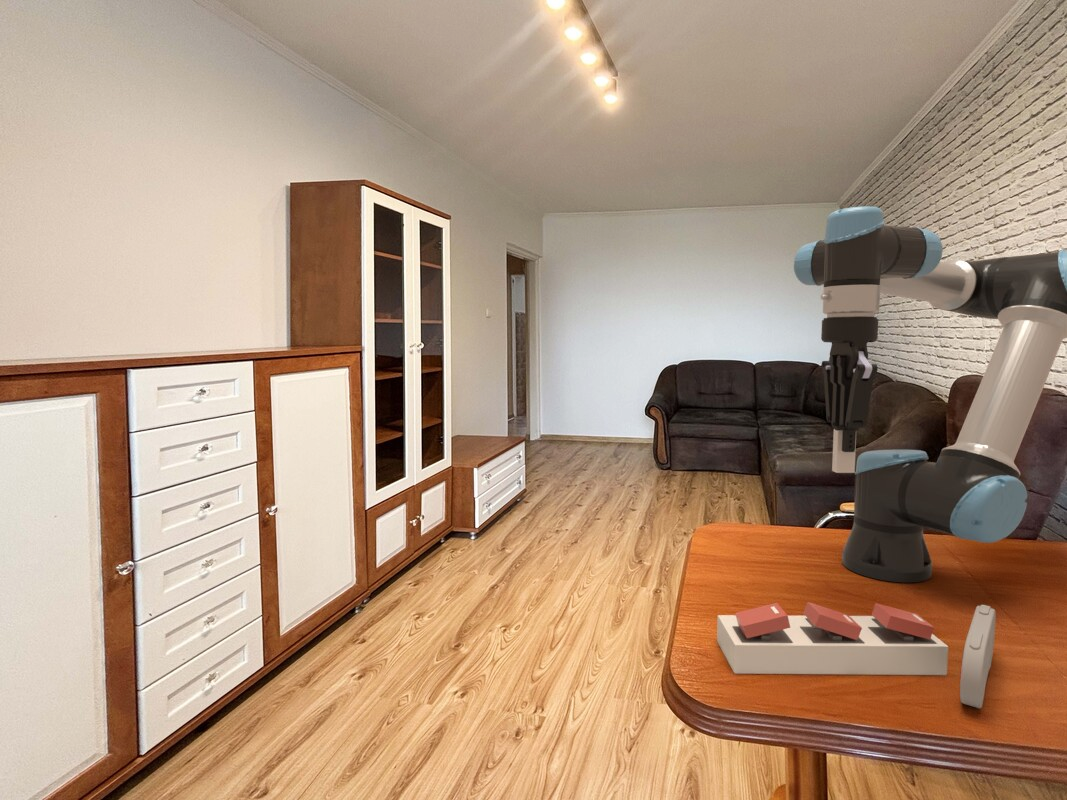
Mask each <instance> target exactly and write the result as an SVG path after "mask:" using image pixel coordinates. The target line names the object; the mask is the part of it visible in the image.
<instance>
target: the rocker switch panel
mask: <svg viewBox="0 0 1067 800" xmlns="http://www.w3.org/2000/svg"><path fill="white" fill-rule="evenodd" d="M849 616H850V617H851V618H852V619H853V620H854V621H855V622H856V623H857V624H858V625H859V626H860V627H861V628H862V630H861V632H860V635H859V637H858V639H857V640H855V639H852V638H849V637H846V636H843V635H840V634H837V633H834V632H831V631H827V630H824V629H821V628H818V627H815V626H814V625H813V624H812V623H811V621H810V620H809V619H808V618H807V617H806V616H805V615H788V619H789V624H790V628H787V629H783V630H779V631H775V632H771V633H767V634H763V635H759V636H755V637H750V638H746V636H745V635H744V633H743V632H742V630H741V629H740V627H739V625H738V622H737V619H736V615H735V614H734V615H733V614H732V615H731V614H725V615H724V614H723V615H721V614H719V615H717V622H716V623H717V624H716V625H717V629H716V631H717V632H716V641H717V643H718V646H719V647H720V649H721V651H722V654H723V655H724V657H725V658H726V661H727V662H728V664H729V666H730V668H731V669H732V672H733V673H734V674H743V675H744V674H746V675H748V674H749V675H751V674H752V675H754V674H758V675H759V674H760V675H761V674H763V675H768V674H769V675H775V674H776V675H872V676H873V675H875V676H876V675H877V676H880V675H881V676H883V675H885V676H886V675H888V676H889V675H890V676H900V675H901V676H947V675H948V673H947V672H948V658H949V646H948V645H947V644H946V643H944V641H942V640H941V639H939V638H938V637H937V636H936V635H935V634H933V633H932V635H931V638H930V639H926V638H922V637H918V636H915V635H911V634H907V633H903V632H899V631H895V630H892V629H888V628H886V627H885V626H884V625H882V624H881V623H880V622H879V621H878V620H877V619H876V618H874V617H873V616H872V615H849Z"/></svg>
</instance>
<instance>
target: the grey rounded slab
mask: <svg viewBox="0 0 1067 800" xmlns="http://www.w3.org/2000/svg"><path fill="white" fill-rule="evenodd" d="M973 613H974V614H973V616H972V620H971V623H970V626H969V629H968V633H967V635H966V638H965V639H966V640H965V642H964V647H963V648H964V649H963V653H962V662H961V668H960V671H959V672H960V673H959V679H960V685H959V697H960V700H959V701H960V703H962V704H964V705H967V706H970V707H974V708H976V709H982V707H983V703H984V698H985V693H986V692H985V691H986V684H987V682H988V681H987V680H988V675H989V672H990V669H991V667H992V661H993V654H994V653H993V652H994V646H995V645H994V644H995V643H994V642H995V636H996V635H995V633H996V610H995V609H994V608H992V607H991V606H990V605H986V604H980V605H977V606H976V607H975V610H974V612H973Z"/></svg>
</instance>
